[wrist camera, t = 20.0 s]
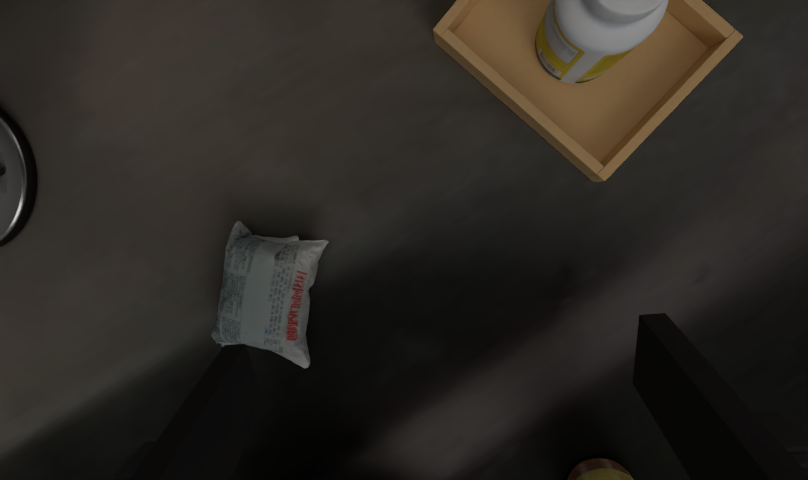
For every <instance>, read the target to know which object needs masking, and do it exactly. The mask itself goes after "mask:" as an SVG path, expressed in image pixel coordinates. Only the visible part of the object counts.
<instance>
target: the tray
mask: <svg viewBox="0 0 808 480" xmlns="http://www.w3.org/2000/svg"><path fill="white" fill-rule="evenodd" d="M550 1H551V0H456V2H455V3H454V4H453V5H452V7H451V8H450V9H449V10H448V12H447V13H446V14H445V15H444V16H443V18H442V19H441V20H440V21H439V23H438V24H437V25H436V26H435V27H434V29H433V34H434V41H435V43H436V44H437V45H438V46H440V47H441V48H442V49H443V50H444V51H445V52H446V53H448V54H449V55H450V56H451V57H452V58H453V59H454V60H455V61H457V62H458V63H459V64H460V65H461V66H462V67H463V68H465V69H466V70H467V71H468V72H469V73H470V74H471V75H472V76H474V77H475V78H476V79H477V80H478V81H479V82H480V83H481V84H483V85H484V86H485V87H486V88H487V89H488V90H489V91H491V92H492V93H493V94H494V95H495V96H496V97H497V98H498V99H500V100H501V101H502V102H503V103H504V104H505V105H506V106H508V107H509V108H510V109H511V110H512V111H513V112H514V113H515V114H517V115H518V116H519V117H520V118H521V119H522V120H523V121H525V122H526V123H527V124H528V125H529V126H530V127H531V128H532V129H534V130H535V131H536V132H537V133H538V134H539V135H540V136H541V137H543V138H544V139H545V140H546V141H547V142H548V143H549V144H551V145H552V146H553V147H554V148H555V149H556V150H557V151H558V152H560V153H561V154H562V155H563V156H564V157H565V158H566V159H568V160H569V161H570V162H571V163H572V164H573V165H574V166H575V167H577V168H578V169H579V170H580V171H581V172H582V173H583V174H585V175H586V176H587V177H588V178H589V179H590V180H591V181H592V182H599V181H605V180H606V179H607V178H608V177H609V176H610V175H611V174H612V173H613V172H614V171H615V170H616V169H617V168H618V167H619V166H620V165H621V164H622V163H623V162H624V161H625V160H626V159H627V157H628V156H629V155H630V154H631V153H632V152H633V151H634V150H635V149H636V148H637V147H638V146H639V145H640V144H641V143H642V142H643V141H644V140H645V139H646V138H647V137H648V136H649V135H650V134H651V133H652V132H653V130H654V129H655V128H656V127H657V126H658V125H659V124H660V123H661V122H662V121H663V120H664V119H665V118H666V117H667V116H668V115H669V114H670V113H671V112H672V111H673V110H674V109H675V108H676V107H677V106H678V104H679V103H680V102H681V101H682V100H683V99H684V98H685V97H686V96H687V95H688V94H689V93H690V92H691V91H692V90H693V89H694V88H695V87H696V86H697V85H698V84H699V83H700V82H701V81H702V80H703V79H704V77H705V76H706V75H707V74H708V73H709V72H710V71H711V70H712V69H713V68H714V67H715V66H716V65H717V64H718V63H719V62H720V61H721V60H722V59H723V58H724V57H725V56H726V55H727V54H728V53H729V51H730V50H731V49H732V48H733V47H734V46H735V45H736V44H737V43H738V42H739V41H740V40H741V39H742V38H743V36H742V35H741V34H740V33H739V32H738V31H737V30H735V29H734V28H733V27H732V26H731V25H730V24H729V23H727V22H726V21H725V20H724V19H723V18H722V17H720V16H719V15H718V14H717V13H716V12H715V11H714V10H712V9H711V8H710V7H709V6H708V5H707V4H706V3H704V2H703V1H702V0H669V1H668V5H667V8H666V11H665V13H664V16H663V18H662V20H661V21H660V23H659V24H658V26H657V27H656V28H655V30H654V31H653V32H652V33H651V34H650V35H649V36H648V37H647V38H646V39H645V40H644V41H643V42H642V43H640V44H639V45H638V46H637V47H635V48H634V49H633V50H632V51H631V52H629V53H628V54H627V55H626V56H624V57H623V58H622V59H621V60H619V61H618V62H617V63H616V64H615V65H613V66H612V67H611V68H609V69H608V70H607V71H606V72H605V73H603V74H602V75H600V76H599V77H597V78H595V79H593V80H591V81H588V82H584V83H578V84H572V83H564V82H561V81H558V80H556V79H554V78H553V77H551V76H550V75H549V74H548V73H547V72H546V71H545V70H544V69H543V68H542V66H541V65H540V63H539V61H538V58H537V55H536V51H535V38H536V33H537V29H538V27H539V24H540V22H541V20H542V18H543V16H544V13H545V11H546V9H547V7H548V5H549V3H550Z"/></svg>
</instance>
